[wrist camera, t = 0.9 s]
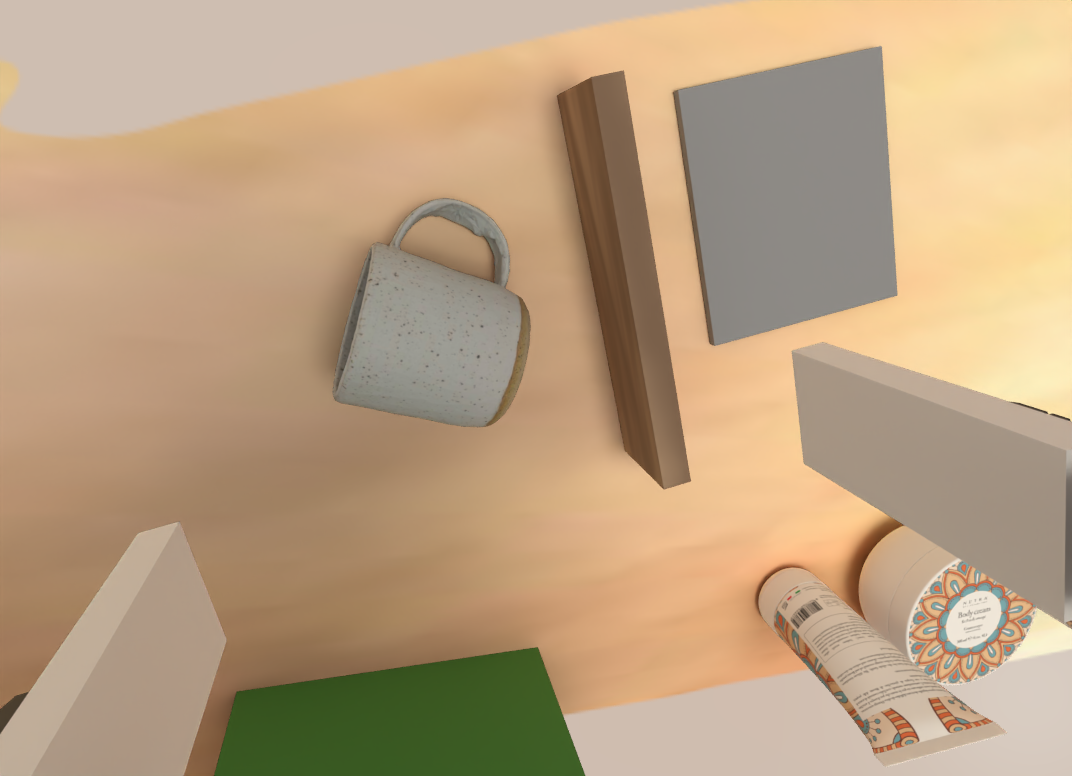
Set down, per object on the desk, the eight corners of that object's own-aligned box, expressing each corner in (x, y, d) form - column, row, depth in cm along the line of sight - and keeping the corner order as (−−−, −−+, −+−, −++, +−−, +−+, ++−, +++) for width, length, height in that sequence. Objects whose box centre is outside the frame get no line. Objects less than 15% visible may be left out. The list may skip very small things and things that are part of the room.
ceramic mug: (480, 412, 40) (506, 457, 33) (332, 378, 38) (324, 418, 31) (533, 225, 38) (573, 229, 31) (381, 178, 36) (385, 170, 29)
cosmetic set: (737, 662, 49) (947, 928, 31) (735, 539, 46) (963, 753, 28) (1048, 589, 53) (1386, 785, 36) (1062, 474, 51) (1433, 622, 33)
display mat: (710, 343, 42) (714, 345, 42) (673, 91, 38) (677, 89, 37) (890, 294, 44) (897, 295, 43) (874, 48, 40) (881, 46, 39)
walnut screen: (625, 450, 43) (664, 489, 37) (557, 95, 37) (591, 77, 31) (648, 443, 43) (690, 481, 37) (585, 89, 37) (623, 70, 31)
